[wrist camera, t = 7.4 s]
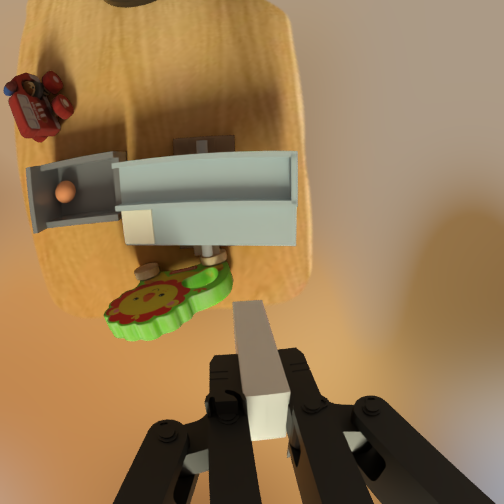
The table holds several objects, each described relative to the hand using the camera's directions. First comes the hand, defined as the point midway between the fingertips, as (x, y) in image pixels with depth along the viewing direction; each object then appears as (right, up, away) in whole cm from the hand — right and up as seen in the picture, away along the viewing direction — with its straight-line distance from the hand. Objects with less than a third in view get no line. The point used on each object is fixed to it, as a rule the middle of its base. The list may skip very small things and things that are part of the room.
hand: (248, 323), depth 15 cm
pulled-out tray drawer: (-23, +13, +21) cm, 34 cm away
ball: (-26, +12, +19) cm, 34 cm away
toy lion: (-11, +1, +27) cm, 29 cm away
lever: (-5, +10, +17) cm, 20 cm away
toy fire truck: (-30, +26, +16) cm, 43 cm away
